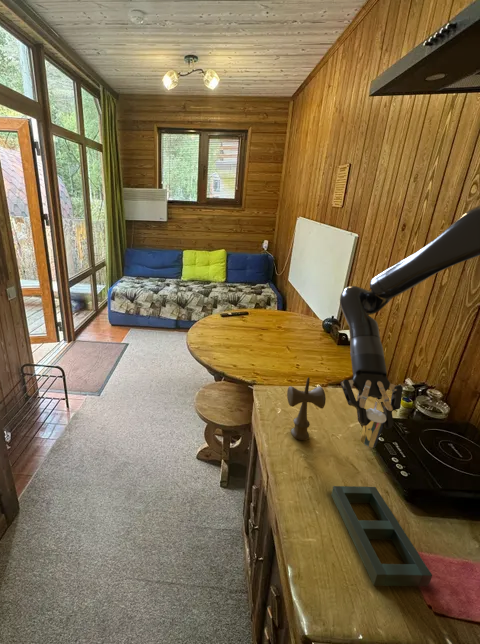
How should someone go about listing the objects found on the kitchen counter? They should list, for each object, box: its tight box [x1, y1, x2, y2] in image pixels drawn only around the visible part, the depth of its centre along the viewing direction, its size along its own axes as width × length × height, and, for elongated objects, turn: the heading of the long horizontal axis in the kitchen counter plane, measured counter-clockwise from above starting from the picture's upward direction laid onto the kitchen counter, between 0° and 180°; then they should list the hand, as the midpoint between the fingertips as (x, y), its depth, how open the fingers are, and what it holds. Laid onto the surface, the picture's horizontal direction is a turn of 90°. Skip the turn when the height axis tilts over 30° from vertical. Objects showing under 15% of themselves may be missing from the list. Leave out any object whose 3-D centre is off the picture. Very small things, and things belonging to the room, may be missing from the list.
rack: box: [330, 485, 433, 587], centre depth 64 cm, size 10×18×3 cm, turn 0°
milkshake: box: [360, 400, 386, 449], centre depth 74 cm, size 5×5×10 cm
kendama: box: [286, 376, 327, 441], centre depth 89 cm, size 6×10×20 cm, turn 88°
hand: (376, 426), depth 72 cm, fingers closed on milkshake, 4 cm apart
